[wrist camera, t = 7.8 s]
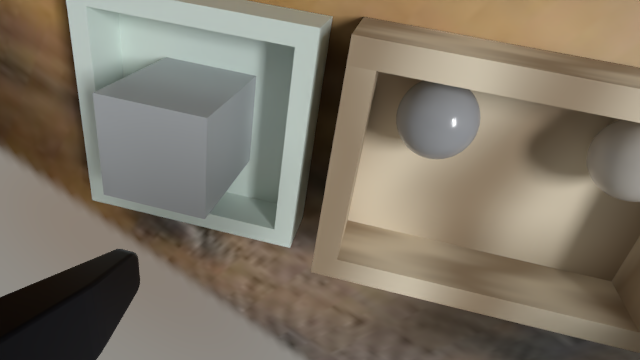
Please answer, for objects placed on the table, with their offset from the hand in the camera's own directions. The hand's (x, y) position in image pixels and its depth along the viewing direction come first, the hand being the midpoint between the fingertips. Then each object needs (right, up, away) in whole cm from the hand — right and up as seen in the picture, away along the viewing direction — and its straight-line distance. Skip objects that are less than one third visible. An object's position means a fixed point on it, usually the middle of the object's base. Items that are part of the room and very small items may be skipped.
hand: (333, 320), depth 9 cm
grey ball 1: (+4, +6, +8) cm, 11 cm away
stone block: (-5, +6, +11) cm, 13 cm away
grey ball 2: (+11, +4, +8) cm, 14 cm away
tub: (-5, +6, +11) cm, 14 cm away
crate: (+7, +3, +10) cm, 13 cm away
